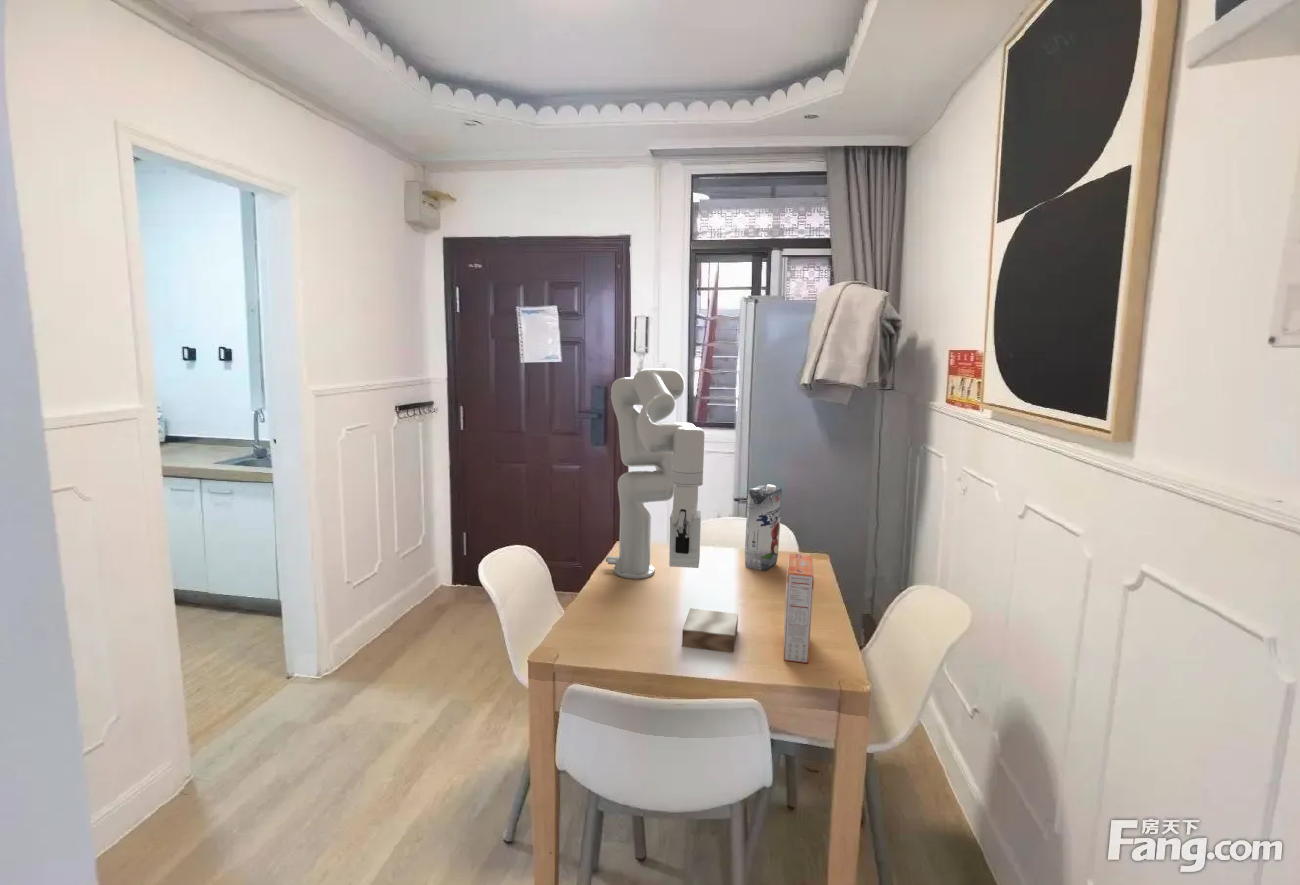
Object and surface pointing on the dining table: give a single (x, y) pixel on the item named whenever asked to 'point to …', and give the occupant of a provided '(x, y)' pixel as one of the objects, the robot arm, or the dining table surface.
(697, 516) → the supplement box
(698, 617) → the base block
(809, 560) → the cracker box
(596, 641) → the dining table surface
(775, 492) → the juice carton
